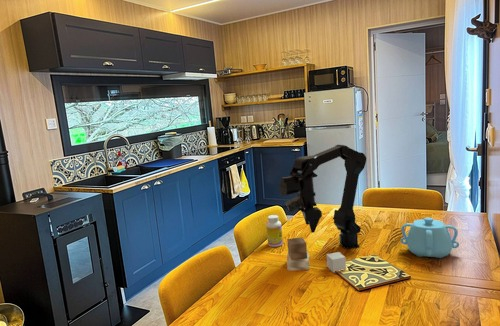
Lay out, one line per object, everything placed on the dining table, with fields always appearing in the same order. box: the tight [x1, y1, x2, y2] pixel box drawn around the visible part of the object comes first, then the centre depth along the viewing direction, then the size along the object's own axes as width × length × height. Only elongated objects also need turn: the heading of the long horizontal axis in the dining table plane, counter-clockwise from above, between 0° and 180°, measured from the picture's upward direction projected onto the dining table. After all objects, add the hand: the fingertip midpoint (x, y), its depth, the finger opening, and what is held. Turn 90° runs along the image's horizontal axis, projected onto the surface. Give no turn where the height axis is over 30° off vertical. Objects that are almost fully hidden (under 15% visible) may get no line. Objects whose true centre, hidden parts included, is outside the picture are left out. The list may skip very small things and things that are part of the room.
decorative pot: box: [400, 217, 460, 259], centre depth 139 cm, size 16×16×14 cm
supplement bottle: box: [265, 214, 284, 248], centre depth 162 cm, size 7×7×13 cm
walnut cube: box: [286, 236, 308, 260], centre depth 140 cm, size 6×6×6 cm
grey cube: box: [326, 251, 347, 273], centre depth 135 cm, size 5×5×5 cm
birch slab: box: [286, 251, 310, 271], centre depth 140 cm, size 8×8×4 cm
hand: (310, 228), depth 144 cm, fingers open, 9 cm apart
